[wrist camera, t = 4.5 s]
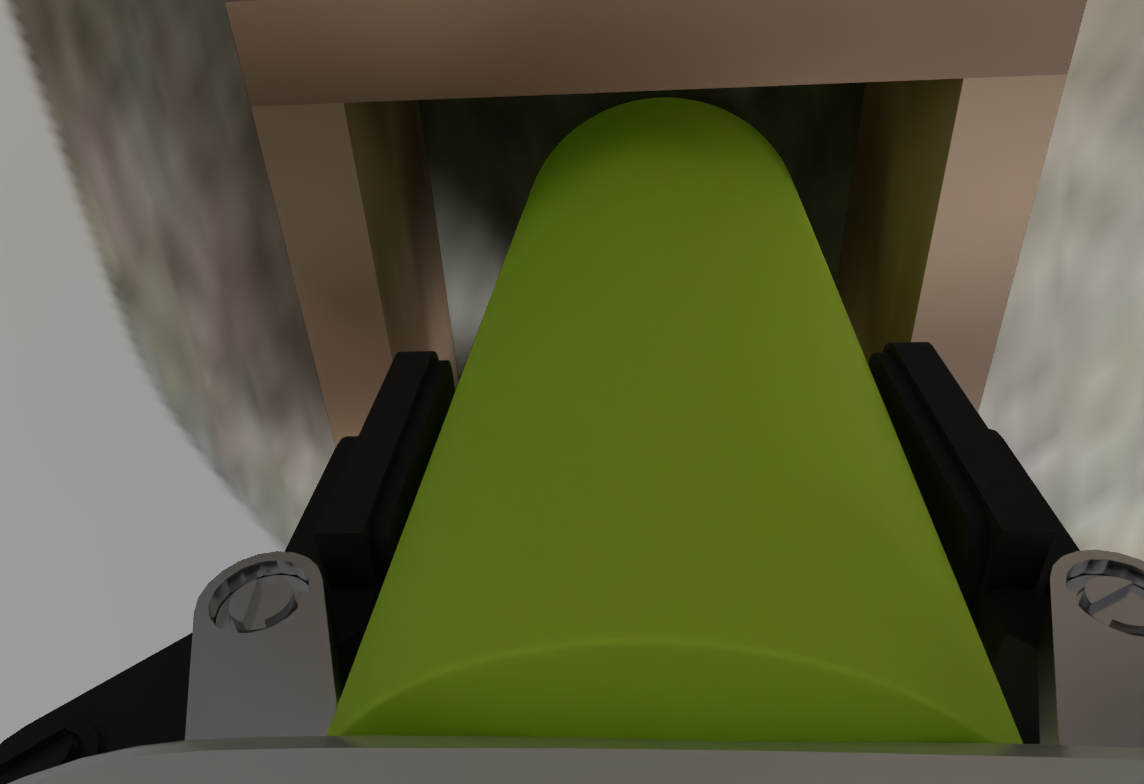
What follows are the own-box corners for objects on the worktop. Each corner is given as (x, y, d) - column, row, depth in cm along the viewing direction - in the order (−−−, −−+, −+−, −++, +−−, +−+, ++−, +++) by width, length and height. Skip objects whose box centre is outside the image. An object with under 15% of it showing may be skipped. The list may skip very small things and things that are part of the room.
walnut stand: (327, -27, 16) (224, 1, 12) (964, -59, 15) (1097, -40, 11) (418, 467, 23) (373, 599, 18) (867, 463, 22) (927, 600, 18)
